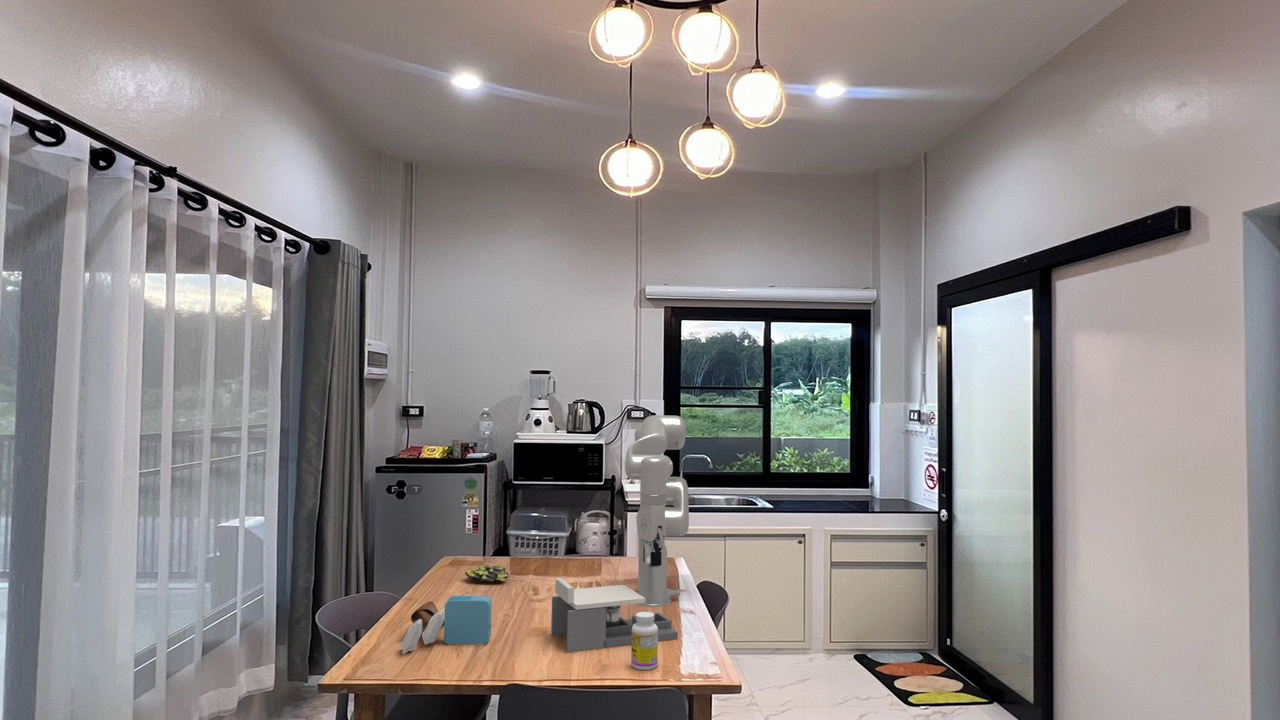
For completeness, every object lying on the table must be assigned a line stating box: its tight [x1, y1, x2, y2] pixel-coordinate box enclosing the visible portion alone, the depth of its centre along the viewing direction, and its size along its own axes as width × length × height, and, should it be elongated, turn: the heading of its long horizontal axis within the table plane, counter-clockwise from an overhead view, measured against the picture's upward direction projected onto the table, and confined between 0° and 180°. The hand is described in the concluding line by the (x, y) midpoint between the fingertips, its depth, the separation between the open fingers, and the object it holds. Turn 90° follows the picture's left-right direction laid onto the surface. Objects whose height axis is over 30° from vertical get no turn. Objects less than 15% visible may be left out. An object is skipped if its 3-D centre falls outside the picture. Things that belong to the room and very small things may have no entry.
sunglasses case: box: [410, 601, 444, 632], centre depth 211 cm, size 18×7×7 cm, turn 6°
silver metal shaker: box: [645, 539, 660, 568], centre depth 215 cm, size 4×4×8 cm
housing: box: [550, 595, 679, 654], centre depth 210 cm, size 32×16×11 cm, turn 113°
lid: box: [554, 577, 645, 610], centre depth 208 cm, size 22×16×5 cm
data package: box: [443, 595, 493, 646], centre depth 203 cm, size 12×4×12 cm, turn 93°
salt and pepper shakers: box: [400, 609, 445, 654], centre depth 197 cm, size 12×4×11 cm
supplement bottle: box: [630, 611, 659, 671], centre depth 187 cm, size 7×7×13 cm
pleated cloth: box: [464, 564, 509, 583], centre depth 277 cm, size 20×16×7 cm
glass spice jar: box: [606, 605, 622, 628], centre depth 209 cm, size 4×4×8 cm
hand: (652, 563), depth 215 cm, fingers closed on silver metal shaker, 4 cm apart
